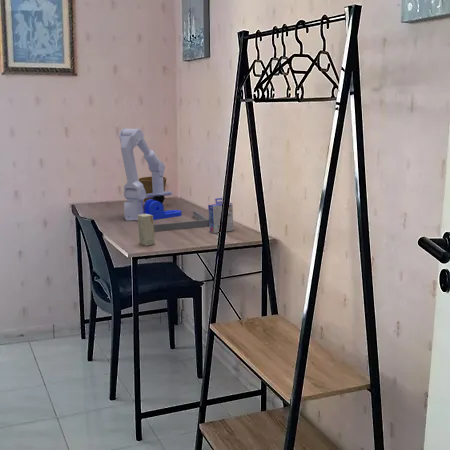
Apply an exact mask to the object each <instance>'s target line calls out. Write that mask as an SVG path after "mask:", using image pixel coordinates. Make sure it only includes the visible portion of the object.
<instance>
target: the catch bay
mask: <svg viewBox="0 0 450 450" xmlns="http://www.w3.org/2000/svg"><path fill="white" fill-rule="evenodd" d="M192 213H193V216H192V217H193V218H194V219H196V220H188V221H187V220H186V221H178V222H167V223H157V224H155V223H154V233H157V232H163V231H164V232H165V231H176V230H186V229H194V228H205V227H206V228H208V227H210V226H209V217H207V216H205V215H203V214H202V213H200V212H198V211H197V210H195V209H194V210H193V212H192Z"/></svg>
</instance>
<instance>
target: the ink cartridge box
mask: <svg viewBox="0 0 450 450" xmlns="http://www.w3.org/2000/svg"><path fill="white" fill-rule="evenodd" d="M222 199H223V197H218V198H215V199H214V201H215V203H212V204H211V203H210V204H208V205H207V207H208V208H207V209H208V210H207V211H208V219H209V226H208V227H209V232H211V233H212V234H217V233H218V231H219V223H220V217H221V209H222ZM229 203H230V205H229V212H228V223H227V231H226V232H233V231H234V210H233V209H234V207H233V203H232V202H229Z"/></svg>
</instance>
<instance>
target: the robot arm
mask: <svg viewBox="0 0 450 450" xmlns="http://www.w3.org/2000/svg"><path fill="white" fill-rule="evenodd" d="M118 137H119V142H120V150H121V154H122V155H121V156H122V161H123V165H124V166H123V168H124V173H125V176H126V183H125V184H124V185H123V197H124V198H125V200H126V201H123V215H124V218H123V219H125V221H126V222H128V221H138V215H140V214H144V199H145V198H150V197H152V198H153V200H155V201H159V202H161V203H162V204H163V205H164V201H165V199H166V197H165V196H167V197H168V196H173V191H172V190H171V191H170V190H169V191H168V190H167V191H165V192H164V185H163V177H164V174H165V169H166V166H165V163H164V162H163V161H161V160H160V159H159V157H158V156H157V154H156V153H155V151H154V150H152V149H150V147H149V146H148V144H147V142H146V141H145V138H144V137H145V133H143V131H142V129H141V128H126V127H125V128H122V129H121V130H120V132H119V134H118ZM135 147H138V148H139V150H140V151H141V152H142V154H143V159H144V160H145V162H146V163H147V165H148V170H149V171H150V173H151V177H152V188H153V193H148V194H146V191H145V189H144V187H143V184H142V183H141V182H139V180H138V179H139V175H138V170H137V164H136V160H135V155H134V154H135V153H134V149H135ZM156 195H158V196H156Z"/></svg>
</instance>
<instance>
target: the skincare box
mask: <svg viewBox="0 0 450 450" xmlns="http://www.w3.org/2000/svg"><path fill="white" fill-rule="evenodd" d="M154 225H155V223H154V220H153V215H150V214H140V215H138V220H137V226H138V237H139V238H138V239H139V244H140V245H142V246H145V247H147V246H152V245H156V240H155V232H154Z"/></svg>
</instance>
